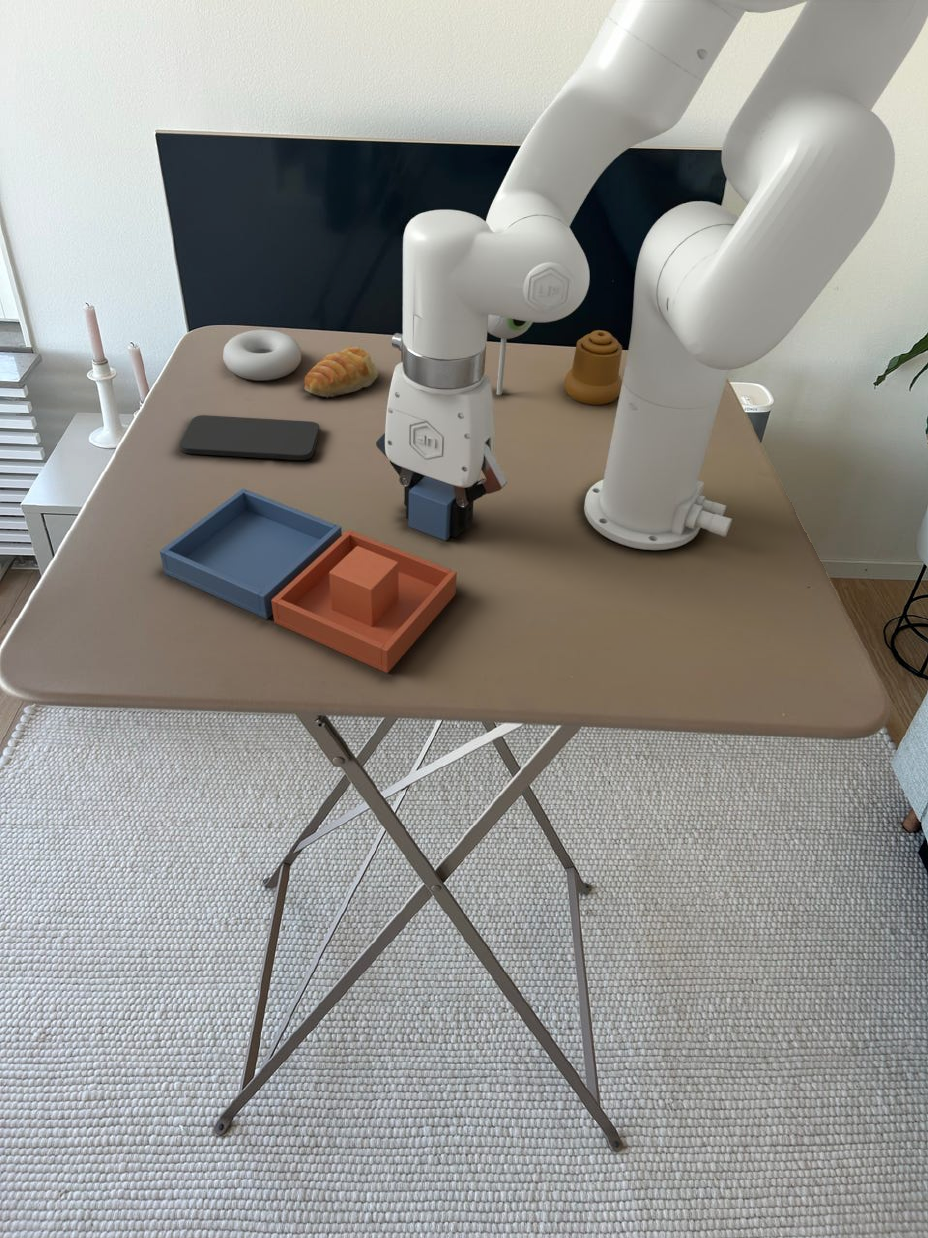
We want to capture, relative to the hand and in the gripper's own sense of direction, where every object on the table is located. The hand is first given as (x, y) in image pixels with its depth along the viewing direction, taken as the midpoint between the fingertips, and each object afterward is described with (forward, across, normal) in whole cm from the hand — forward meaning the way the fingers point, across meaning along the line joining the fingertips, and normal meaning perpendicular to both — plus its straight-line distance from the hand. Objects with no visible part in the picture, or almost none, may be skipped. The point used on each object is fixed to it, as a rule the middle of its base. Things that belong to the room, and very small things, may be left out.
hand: (437, 520), depth 92 cm
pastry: (+1, -25, +19) cm, 31 cm away
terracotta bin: (0, +1, -15) cm, 15 cm away
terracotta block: (0, +1, -15) cm, 15 cm away
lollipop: (+1, -7, +28) cm, 29 cm away
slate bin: (0, -12, -15) cm, 19 cm away
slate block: (0, 0, 0) cm, 0 cm away
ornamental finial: (+1, +3, +35) cm, 35 cm away
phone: (0, -26, +2) cm, 26 cm away
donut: (+1, -36, +17) cm, 40 cm away
